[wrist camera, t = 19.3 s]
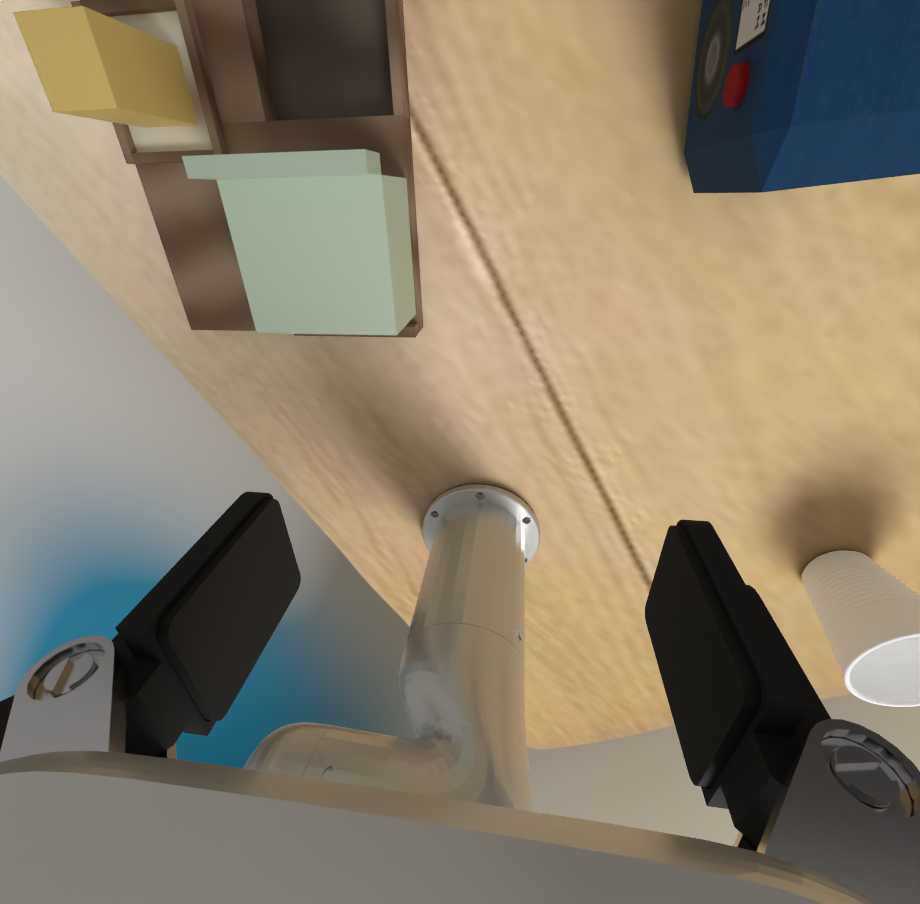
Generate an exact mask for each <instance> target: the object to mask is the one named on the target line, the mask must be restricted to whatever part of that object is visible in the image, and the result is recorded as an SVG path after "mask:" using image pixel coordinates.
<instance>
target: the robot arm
mask: <svg viewBox="0 0 920 904" xmlns="http://www.w3.org/2000/svg"><path fill="white" fill-rule="evenodd" d="M422 531H423V538H424V541H425V544H426V546H427V548H428V550H429V552H430V554H429V558H428V562H427V566H426V569H425V573H424V577H423V581H422V584H421V588H420V592H419V596H418V599H417V603H416V607H415V611H414V614H413V618H412V622H411V626H410V629H409V633H408V637H407V641H406V644H405V648H404V652H403V656H402V660H401V665H400V677H399V681H400V691H401V696H402V700H403V703H404V707H405V709H406V712H407V714H408V717H409V719H410V721H411V724H412V726H413V728H414V730H415V732H416V734H417V737H418V738H411V737H403V736H398V737H395V736H389V735H383V734H377V733H371V732H366V731H360V730H354V729H349V728H343V727H337V726H330V725H324V724H317V723H295V724H290V725H287V726H283V727H282V728H279V729H278V730H276V731H274V732H272V733H271V734H270V735H269V736H267V737H266V738H265V739H264V740H263V741H262V742H261V743H260V744H259V745H258V747H257V748H256V749H255V751H254V752H253V753H252V755H251V756H250V758H249V759H248V761H247V763H246V765H245V766H244V768H243V769H242V768H235V767H228V766H221V765H214V764H207V763H200V762H193V761H185V760H177V759H176V743H175V742H176V741H177V739H178V738H179V736H180V734H181V733H182V732H183V731H184V733H191V734H198V735H205V736H208V734H209V733H210V731H211V729H212V727H213V726H214V724H215V722H216V721H219V720H221V719H222V718H223V717H224V716H225V715H226V713H227V712H228V710H229V709H230V707H231V705H232V703H233V701H234V700H235V698H236V696H237V695H238V693H239V691H240V689H241V688H242V686H243V684H244V682H245V681H246V679H247V677H248V676H249V674H250V672H251V670H252V669H253V667H254V665H255V663H256V662H257V660H258V658H259V656H260V655H261V653H262V651H263V649H264V648H265V646H266V644H267V642H268V641H269V639H270V637H271V636H272V634H273V632H274V630H275V629H276V627H277V625H278V623H279V622H280V620H281V618H282V616H283V615H284V613H285V611H286V610H287V608H288V606H289V604H290V602H291V601H292V599H293V597H294V596H295V594H296V592H297V590H298V588H299V585H300V580H301V579H300V578H301V577H300V572H299V569H298V565H297V562H296V559H295V555H294V552H293V548H292V545H291V542H290V538H289V535H288V532H287V528H286V525H285V521H284V518H283V514H282V511H281V508H280V504H279V502H278V501H277V500H275V499H273V496H272V495H271V494H269V493H259V492H245V493H244V494H242V495H241V496H240V497H239V498H238V499H237V500H236V501H235V502H234V503H233V504H232V505H231V506H230V507H229V508H228V509H227V510H226V512H225V513H224V514H223V515H222V516H221V517H220V518H219V519H218V520H217V521H216V522H215V523H214V524H213V525H212V526H211V527H210V528H209V530H208V531H207V532H206V533H205V534H204V535H203V536H202V537H201V538H200V539H199V540H198V541H197V542H196V543H195V544H194V545H193V547H192V548H191V549H190V550H189V551H188V552H187V553H186V554H185V555H184V556H183V557H182V558H181V559H180V560H179V561H178V562H177V563H176V565H174V567H173V568H172V569H171V570H170V571H169V572H168V573H167V574H166V575H165V576H164V577H163V578H162V579H161V580H160V581H159V583H157V585H156V586H155V587H154V588H153V589H152V590H151V591H150V592H149V593H148V594H147V595H146V596H145V597H144V598H143V599H142V600H141V601H140V602H139V603H138V605H137V606H136V607H135V608H134V609H133V610H132V611H131V612H130V613H129V614H128V615H127V616H126V617H125V618H124V619H123V620H122V621H121V623H120V624H119V625H118V626H117V627H116V630H117V631H118V634H117V635H116V637H114V639H113V640H112V641H110V640H109V639H108V638H107V637H103V636H98V635H96V636H85V637H82V638H79V639H76V640H72V641H70V642H68V643H66V644H64V645H62V646H60V647H57V648H56V649H54V650H53V651H51V652H50V653H48V654H47V655H45V656H44V657H42V658H41V659H40V660H39V661H38V662H37V663H36V664H34V665H33V666H32V667H31V668H30V669H29V670H28V672H27V673H26V674H25V676H24V677H23V678H22V679H21V681H20V683H19V685H18V687H17V690H16V692H15V695H14V696H12V697H9V698H7V699H5V700H3V701H1V702H0V904H920V771H919V770H918V769H917V767H916V766H915V765H914V763H913V762H912V761H911V760H910V759H908V758H907V757H906V756H905V755H904V754H903V753H902V752H901V751H900V750H899V749H898V748H897V747H895V746H894V745H893V744H891V743H890V742H888V741H887V740H886V739H884V738H883V737H882V736H880V735H879V734H877V733H875V732H873V731H871V730H869V729H867V728H865V727H863V726H861V725H859V724H855V723H852V722H849V721H845V720H841V719H831V718H830V716H829V714H828V713H827V711H826V709H825V707H824V706H823V704H822V702H821V701H820V699H819V697H818V695H817V694H816V692H815V690H814V689H813V687H812V685H811V683H810V682H809V680H808V678H807V677H806V675H805V673H804V671H803V670H802V668H801V666H800V664H799V663H798V661H797V659H796V658H795V656H794V654H793V652H792V651H791V649H790V647H789V646H788V644H787V642H786V640H785V639H784V637H783V635H782V634H781V632H780V630H779V628H778V627H777V625H776V623H775V622H774V620H773V618H772V616H771V615H770V613H769V611H768V610H767V608H766V606H765V604H764V603H763V601H762V599H761V598H760V596H759V594H758V593H757V592H756V590H755V589H754V588H752V587H751V586H750V585H745V583H744V581H743V579H742V577H741V576H740V574H739V572H738V570H737V569H736V567H735V565H734V563H733V561H732V560H731V558H730V556H729V554H728V553H727V551H726V549H725V547H724V546H723V544H722V542H721V540H720V538H719V537H718V535H717V533H716V531H715V530H714V528H713V526H712V525H711V523H710V522H708V521H694V520H680V521H679V522H678V523H677V525H676V526H670V527H669V529H668V531H667V535H666V538H665V541H664V545H663V548H662V552H661V555H660V558H659V562H658V565H657V568H656V572H655V575H654V579H653V582H652V585H651V589H650V592H649V596H648V599H647V602H646V606H645V619H646V624H647V627H648V631H649V634H650V638H651V641H652V645H653V648H654V652H655V656H656V659H657V663H658V666H659V670H660V673H661V677H662V680H663V684H664V688H665V691H666V695H667V698H668V702H669V705H670V709H671V712H672V716H673V719H674V723H675V726H676V730H677V733H678V737H679V740H680V744H681V748H682V751H683V755H684V759H685V762H686V766H687V769H688V773H689V776H690V778H691V780H692V782H693V784H694V785H696V786H701V788H702V791H703V794H704V798H705V801H706V804H707V806H711V807H718V808H726V809H729V812H730V814H731V818H732V821H733V824H734V827H735V828H736V829H738V830H739V833H738V836H737V838H736V840H735V843H734V845H733V846H728V845H725V844H720V843H716V842H711V841H706V840H702V839H696V838H690V837H685V836H678V835H673V834H667V833H662V832H655V831H650V830H644V829H638V828H633V827H627V826H621V825H615V824H610V823H603V822H597V821H590V820H583V819H577V818H571V817H564V816H557V815H551V814H544V813H538V812H535V810H534V803H533V796H532V789H531V782H530V774H529V766H528V756H527V745H526V728H525V699H524V644H525V566H526V565H527V564H528V563H529V562H530V561H531V560H532V559H533V558H534V556H535V554H536V552H537V550H538V546H539V542H540V532H539V525H538V521H537V519H536V517H535V514H534V513H533V511H532V510H531V509H530V507H529V506H528V505H527V504H526V503H525V502H524V501H523V500H522V499H520V498H519V497H517V496H516V495H514V494H513V493H511V492H508V491H506V490H504V489H502V488H498V487H494V486H490V485H481V484H474V485H464V486H460V487H455V488H453V489H451V490H448V491H446V492H444V493H443V494H441V495H440V496H438V497H437V498H436V499H435V500H434V501H433V502H432V503H431V505H430V506H429V508H428V510H427V512H426V515H425V518H424V521H423V527H422Z"/></svg>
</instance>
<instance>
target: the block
mask: <svg viewBox="0 0 920 904" xmlns="http://www.w3.org/2000/svg"><path fill="white" fill-rule="evenodd" d="M13 13H14V15H15V18H16V20H17V23H18V25H19V28H20V30H21V33H22V35H23V38H24V40H25V43H26V45H27V48H28V50H29V53H30V55H31V58H32V60H33V63H34V65H35V68H36V70H37V73H38V75H39V78H40V80H41V83H42V85H43V88H44V90H45V93H46V95H47V98H48V100H49V103H50V105H51V108H52V110H53V112H57V113H63V114H69V115H74V116H80V117H86V118H92V119H97V120H103V121H109V122H115V123H120V124H126V125H132V126H138V127H143V128H152V127H172V126H192V125H198V122H197V118H196V114H195V111H194V107H193V103H192V99H191V96H190V92H189V88H188V84H187V81H186V77H185V73H184V69H183V66H182V62H181V58H180V54H179V51H178V47H177V46H176V45H174V44H171V43H169V42H167V41H164V40H162V39H160V38H157V37H155V36H152V35H150V34H148V33H145V32H143V31H141V30H138V29H136V28H134V27H131V26H129V25H127V24H124V23H122V22H120V21H117V20H115V19H112V18H110V17H108V16H105V15H103V14H101V13H98V12H96V11H94V10H91V9H89V8H87V7H84V6H77V7H66V8H54V9H43V10H32V11H21V12H13Z"/></svg>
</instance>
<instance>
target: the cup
mask: <svg viewBox="0 0 920 904" xmlns="http://www.w3.org/2000/svg"><path fill="white" fill-rule="evenodd" d="M801 579H802V583H803V585H804V588H805V590H806V592H807V594H808V596H809V599H810V600H811V603H812V605H813V607H814V609H815V612H816V613H817V616H818V618H819V621H820V622H821V625H822V627H823V629H824V631H825V634H826V636H827V639H828V640H829V643H830V646H831V648H832V650H833V652H834V654H835V657H836V659H837V661H838V663H839V666H840V668H841V670H842V672H843V679H844V684H845V685H846V687H847V689H848V690H849V691H850V692H851V693H852V694H854V695H855V696H857V697H858V698H860V699H862V700H865V701H867V702H870V703H873V704H879V705H884V706H895V707H906V706H907V707H910V706H911V707H912V706H920V595H918V594H917V593H916V592H915V591H913V590H912V589H911V588H909V587H908V586H906V585H905V584H904V583H902V582H901V581H900V580H899V579H897V578H896V577H895V576H893V575H892V574H891V573H889V572H888V571H886V570H885V569H884V568H883V567H881V566H880V565H879V564H877V563H876V562H875V561H873V560H872V559H871V558H869V557H868V556H866V555H865V554H863V553H860V552H856V551H843V550H841V551H833V552H828V553H825V554H822V555H820V556H818V557H816V558H815V559H813V560H812V561H811V562H810V563H809V564H808V565H807V566H806V568H805V569H804V571H803V573H802V578H801Z"/></svg>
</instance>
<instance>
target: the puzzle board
mask: <svg viewBox="0 0 920 904" xmlns="http://www.w3.org/2000/svg"><path fill="white" fill-rule="evenodd" d="M71 4H72V7H77V6H84V7H87V8H89V9H91V10H94V11H96V12H98V13H101V14H103V15H105V16H108V17H110V18H112V19H115V20H117V21H120V22H122V23H124V24H127V25H129V26H131V27H134V28H136V29H138V30H141V31H143V32H145V33H148V34H150V35H152V36H155V37H157V38H160V39H162V40H164V41H167V42H169V43H171V44H174V45H176V46H177V47H178V51H179V54H180V58H181V62H182V66H183V69H184V73H185V77H186V81H187V84H188V88H189V92H190V96H191V99H192V103H193V107H194V111H195V114H196V118H197V122H198V125H192V126H172V127H152V128H143V127H138V126H132V125H126V124H120V123H115V122H113V125H114V128H115V131H116V134H117V137H118V140H119V143H120V145H121V148H122V151H123V154H124V157H125V160H126V163H127V164H136V167H137V170H138V173H139V176H140V179H141V182H142V185H143V188H144V191H145V194H146V197H147V200H148V203H149V206H150V209H151V212H152V215H153V217H154V220H155V223H156V226H157V229H158V232H159V235H160V238H161V241H162V244H163V247H164V250H165V253H166V256H167V259H168V262H169V265H170V268H171V271H172V274H173V277H174V280H175V283H176V286H177V289H178V291H179V294H180V297H181V300H182V303H183V306H184V309H185V312H186V315H187V318H188V321H189V324H190V327H191V330H246V331H256V329H255V325H254V321H253V317H252V313H251V310H250V306H249V302H248V298H247V294H246V291H245V287H244V283H243V279H242V275H241V271H240V268H239V264H238V260H237V256H236V252H235V249H234V245H233V241H232V237H231V233H230V229H229V226H228V222H227V218H226V214H225V210H224V206H223V203H222V199H221V195H220V191H219V187H218V184H217V180H209V179H188V176H187V173H186V169H185V166H184V162H183V159H182V156H196V155H223V154H249V153H275V152H302V151H328V150H354V149H366V150H370V151H373V152H377V153H379V154H380V165H381V175H386V176H394V177H401V178H406V181H407V195H408V209H409V223H410V237H411V251H412V265H413V279H414V293H415V307H416V315H415V316H414V317H413V318H412V319H411V320H410V321H409V323H408V324H407V325H406V326H405V327H404V328H403V329H402V330H401V331H400V332H399V334H398V335H342V334H294V335H302V336H360V337H416V335H417V334H418V333H419V332H420V330H421V329H422V328H423V315H422V300H421V284H420V268H419V252H418V237H417V221H416V205H415V189H414V174H413V158H412V142H411V126H410V111H409V95H408V79H407V63H406V48H405V32H404V16H403V1H402V0H80V1H74V2H71Z"/></svg>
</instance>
